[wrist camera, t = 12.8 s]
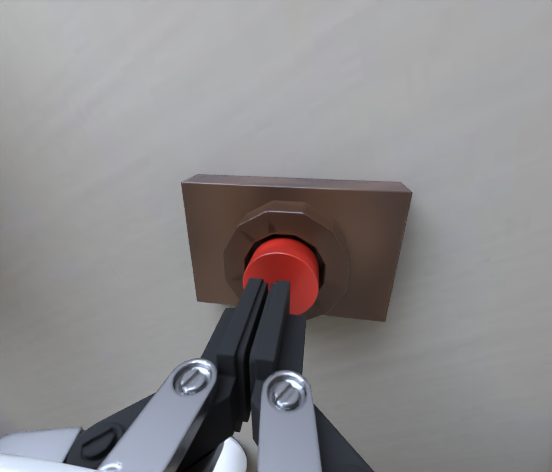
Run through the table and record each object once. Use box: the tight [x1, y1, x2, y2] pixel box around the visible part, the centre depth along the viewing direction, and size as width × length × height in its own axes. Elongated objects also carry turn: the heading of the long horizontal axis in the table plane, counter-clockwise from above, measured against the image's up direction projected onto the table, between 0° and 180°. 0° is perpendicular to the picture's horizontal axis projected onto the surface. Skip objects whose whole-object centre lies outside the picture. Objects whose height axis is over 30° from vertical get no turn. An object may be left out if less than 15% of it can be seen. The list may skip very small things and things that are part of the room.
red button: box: [243, 238, 319, 315], centre depth 14 cm, size 4×4×2 cm
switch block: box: [181, 174, 412, 322], centre depth 16 cm, size 12×8×4 cm, turn 90°
